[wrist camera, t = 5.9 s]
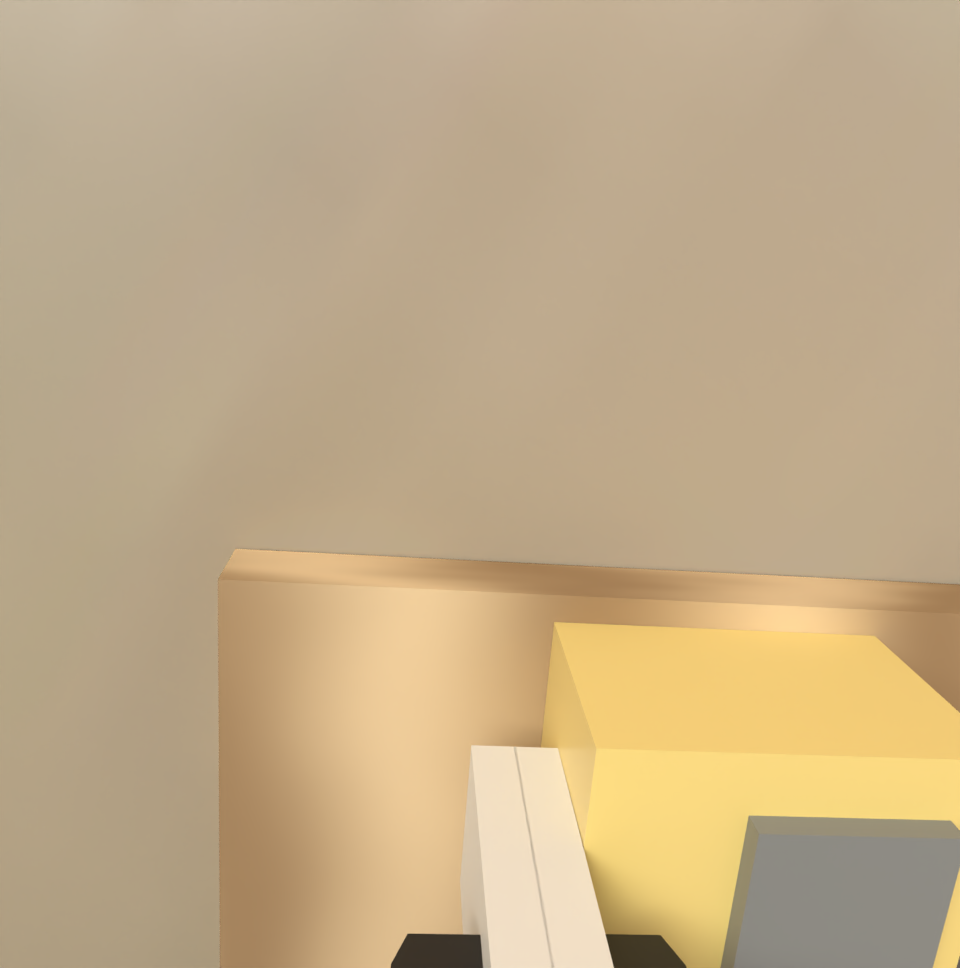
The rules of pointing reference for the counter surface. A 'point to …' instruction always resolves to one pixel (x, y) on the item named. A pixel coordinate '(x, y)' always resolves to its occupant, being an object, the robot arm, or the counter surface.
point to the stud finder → (761, 794)
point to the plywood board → (438, 717)
